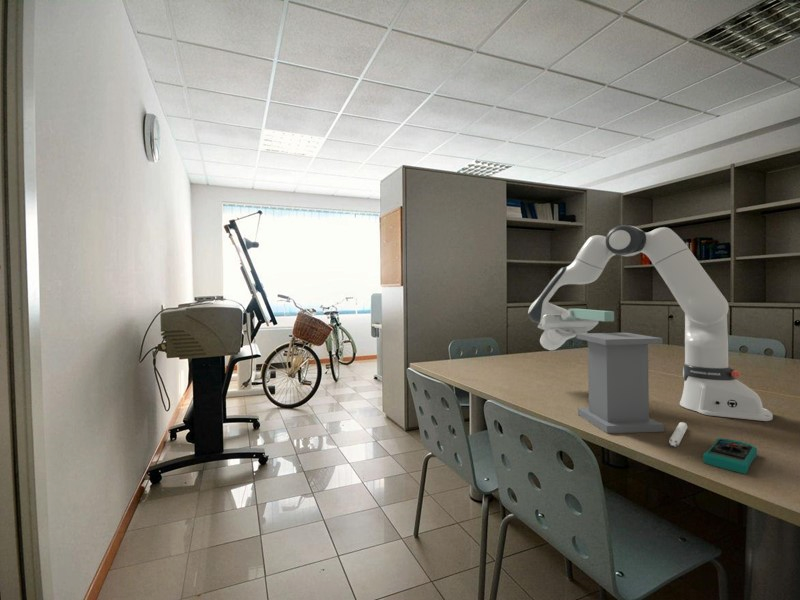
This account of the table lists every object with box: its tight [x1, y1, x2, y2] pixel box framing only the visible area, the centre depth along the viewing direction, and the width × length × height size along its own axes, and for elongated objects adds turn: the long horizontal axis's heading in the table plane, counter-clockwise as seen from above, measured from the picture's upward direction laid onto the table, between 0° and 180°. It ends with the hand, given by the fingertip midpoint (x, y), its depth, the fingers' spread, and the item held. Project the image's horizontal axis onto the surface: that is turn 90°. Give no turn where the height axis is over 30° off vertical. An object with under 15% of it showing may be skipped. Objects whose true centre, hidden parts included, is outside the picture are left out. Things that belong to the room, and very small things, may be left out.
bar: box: [568, 308, 615, 322], centre depth 125 cm, size 23×3×3 cm, turn 1°
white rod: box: [668, 421, 688, 448], centre depth 98 cm, size 18×2×2 cm, turn 136°
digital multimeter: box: [702, 437, 758, 474], centre depth 85 cm, size 7×15×3 cm, turn 129°
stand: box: [576, 332, 665, 434], centre depth 110 cm, size 16×16×26 cm
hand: (577, 311), depth 133 cm, fingers closed on bar, 3 cm apart
